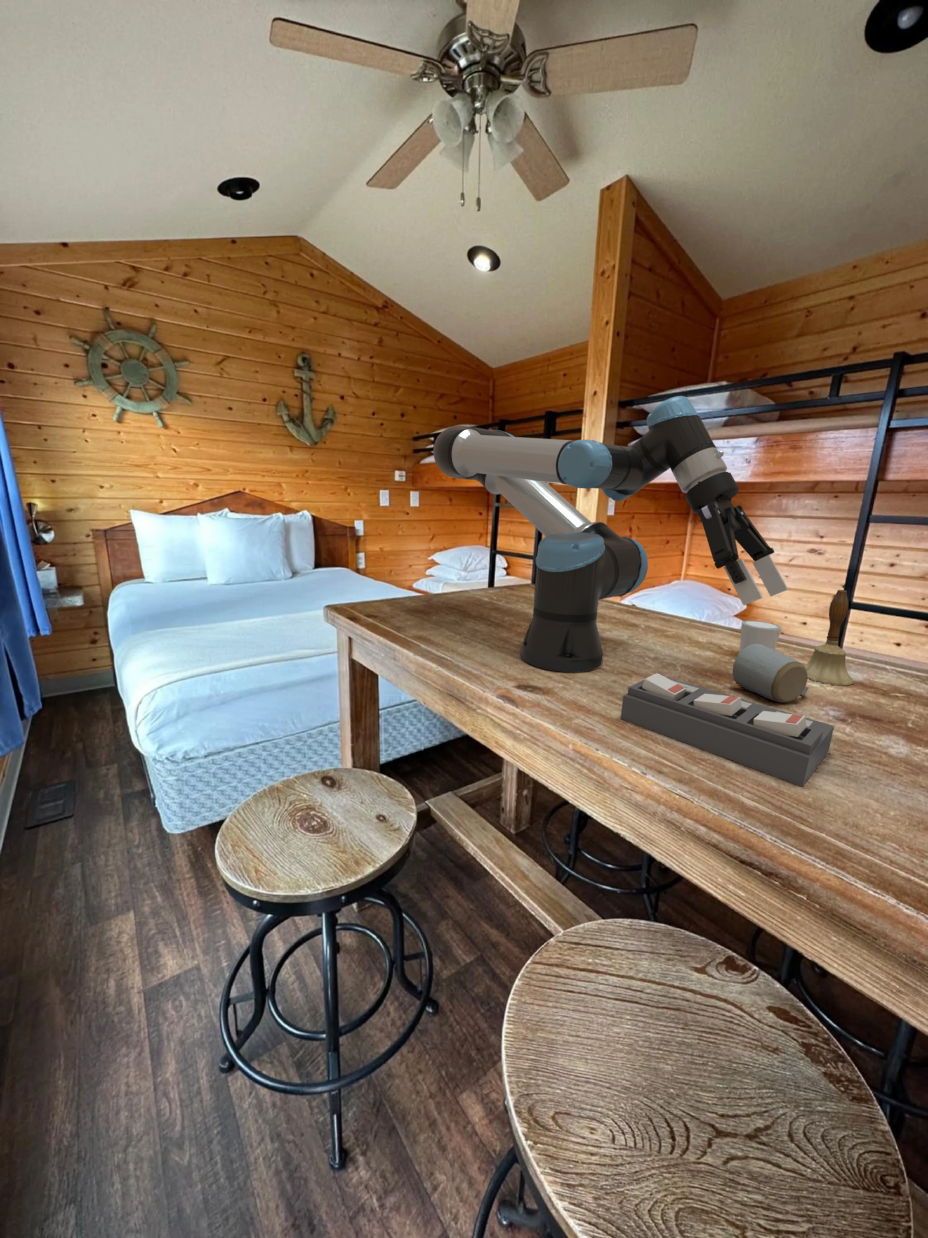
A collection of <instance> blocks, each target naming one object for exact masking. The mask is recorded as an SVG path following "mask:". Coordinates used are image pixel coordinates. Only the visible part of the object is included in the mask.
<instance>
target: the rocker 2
mask: <svg viewBox="0 0 928 1238" xmlns="http://www.w3.org/2000/svg"><path fill="white" fill-rule="evenodd" d="M806 718H807V717H806V715H801V714H794V713H791V714H786V713H777V712H768V711H763V712H761V713H760V714H759V715H758V716H757V717H755V718H754V719H753V720H754V726H757V727H760V728H764V729H767V730H770V731H773V732H776V733H779V734H782V735H788V736H795V737H798V736H799V735H800V734H801V733H802V732H803V730H804V729H805V728H806Z"/></svg>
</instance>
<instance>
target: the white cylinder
mask: <svg viewBox="0 0 928 1238" xmlns="http://www.w3.org/2000/svg"><path fill="white" fill-rule="evenodd" d="M740 628H741V629H740V639H739V642H740V643H739V653H740V652H741V651H742V650H743V649H744V648H746V647H747V646H749V645H752V644H762V645H764V646H766V647H769V648H771V649H773V650H775V651H776V647H777V644H778V641H779V637H780V635H781V631H782V626H780V625H778V624H775V623H773V622H766V621H761V620H742V621H741V627H740Z"/></svg>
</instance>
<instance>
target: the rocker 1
mask: <svg viewBox="0 0 928 1238" xmlns="http://www.w3.org/2000/svg"><path fill="white" fill-rule="evenodd" d="M666 677H667V676H663V675H662V674H659V673H654V674H653V675H650V676H648V677H645V678H644V679H643V680H644V683H643V686H642V688H643V689H645V690H647V691H649V692H651V693H654V694H657V695H660V696H663V697H666V698H669V699H673V700H676V701H677V700H679V699H680V698H682V697H683V696H684V694H685V691H686V689H687V688H685V687H683V686H681V685H679V684H678V683H676V682H674V681H672V680H670V679H668V678H669V677H667V678H666Z"/></svg>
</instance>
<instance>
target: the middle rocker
mask: <svg viewBox="0 0 928 1238" xmlns="http://www.w3.org/2000/svg"><path fill="white" fill-rule="evenodd" d="M741 699H742V697H741V696H735V695H729V696H724V695H714V694H703V695H702V696H700V697H698V698H697V699H695V700H694V706H695V707H698V708H701V709H704V710H707V711H710V712H713V713H717V714H721V715H729V716H732V715H733V714H734V713H736V712H737V711H738V710H740V709H741V708H742V707H741Z"/></svg>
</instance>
